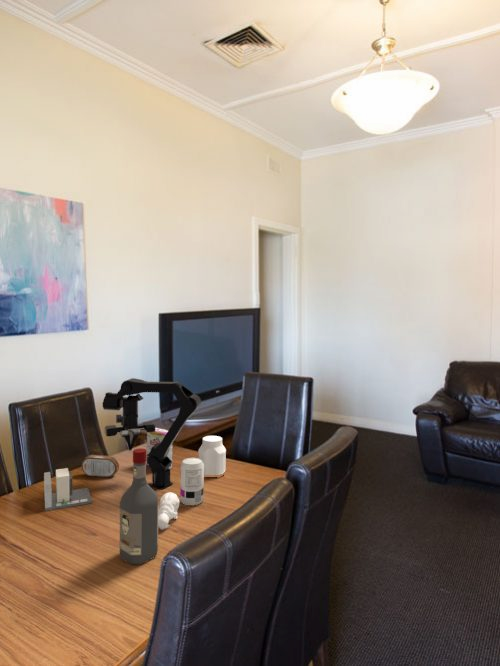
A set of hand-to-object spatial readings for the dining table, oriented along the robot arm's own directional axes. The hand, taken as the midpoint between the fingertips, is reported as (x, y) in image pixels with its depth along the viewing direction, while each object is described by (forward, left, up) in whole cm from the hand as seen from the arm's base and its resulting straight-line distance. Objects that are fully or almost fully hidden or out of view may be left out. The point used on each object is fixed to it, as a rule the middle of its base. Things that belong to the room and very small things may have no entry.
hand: (130, 450), depth 175 cm
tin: (+15, +2, -13) cm, 20 cm away
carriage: (+6, +25, -12) cm, 28 cm away
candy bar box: (+2, -19, -13) cm, 23 cm away
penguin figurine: (-34, +17, -13) cm, 40 cm away
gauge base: (+6, +23, -13) cm, 28 cm away
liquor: (-40, +35, -13) cm, 55 cm away
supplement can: (-31, 0, -13) cm, 34 cm away
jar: (-21, -26, -13) cm, 36 cm away
